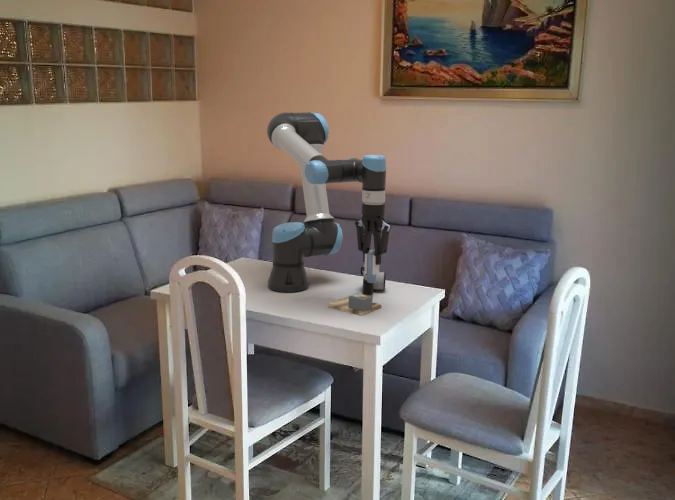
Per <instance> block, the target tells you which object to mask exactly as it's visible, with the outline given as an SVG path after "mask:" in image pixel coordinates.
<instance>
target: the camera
mask: <svg viewBox="0 0 675 500" xmlns="http://www.w3.org/2000/svg"><path fill="white" fill-rule="evenodd" d="M360 274H361V275H360V276H362V277H363V278H362V279H363V280H362V294H364V295H368V296H372V297H373V294H374V290H375V291H376V290H377V291H380V290H381V291H382V290H385V289H386V272H385V271H383V272H382V271H379V274H376V283H368V282H367V273H365V264H363V265H362V266H360Z"/></svg>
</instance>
